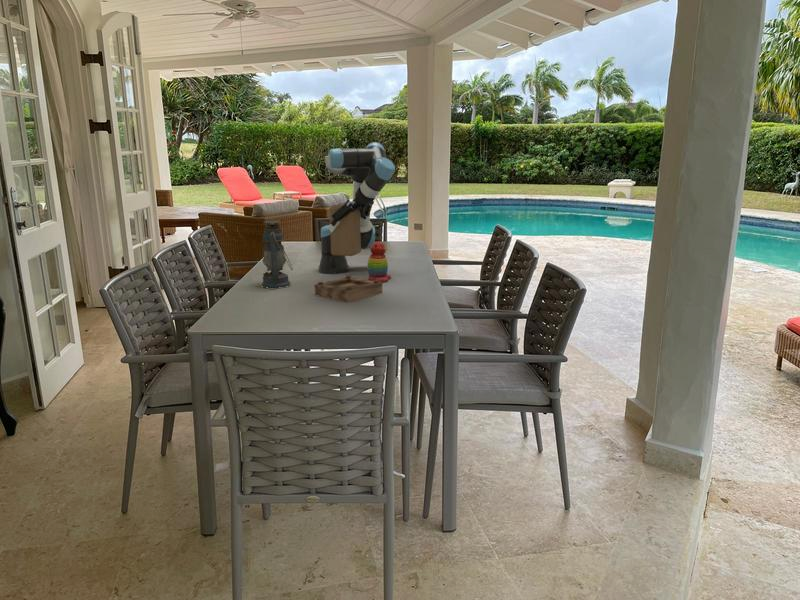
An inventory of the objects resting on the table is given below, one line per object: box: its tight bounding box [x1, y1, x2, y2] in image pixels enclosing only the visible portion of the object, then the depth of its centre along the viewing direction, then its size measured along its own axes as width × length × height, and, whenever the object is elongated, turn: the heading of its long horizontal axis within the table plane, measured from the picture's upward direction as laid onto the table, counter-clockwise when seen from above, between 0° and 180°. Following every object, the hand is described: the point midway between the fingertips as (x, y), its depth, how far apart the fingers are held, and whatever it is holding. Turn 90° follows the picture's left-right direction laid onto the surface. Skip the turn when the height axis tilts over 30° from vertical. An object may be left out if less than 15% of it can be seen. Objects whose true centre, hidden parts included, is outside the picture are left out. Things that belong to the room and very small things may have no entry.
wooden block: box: [329, 204, 362, 257], centre depth 247 cm, size 10×10×20 cm
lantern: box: [261, 218, 294, 289], centre depth 268 cm, size 19×14×30 cm
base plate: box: [314, 274, 383, 303], centre depth 253 cm, size 20×20×6 cm
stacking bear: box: [367, 241, 392, 283], centre depth 279 cm, size 11×10×18 cm
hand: (341, 228), depth 249 cm, fingers closed on wooden block, 12 cm apart
